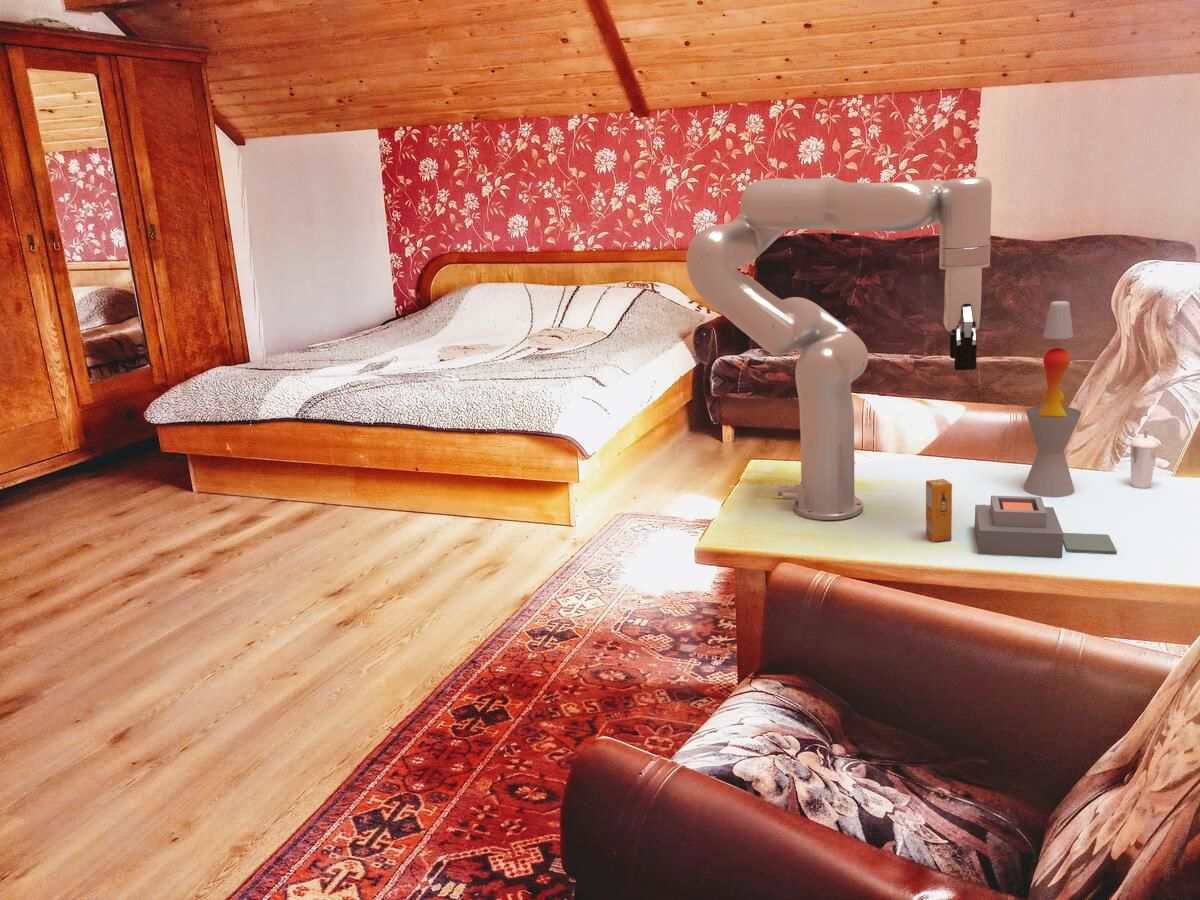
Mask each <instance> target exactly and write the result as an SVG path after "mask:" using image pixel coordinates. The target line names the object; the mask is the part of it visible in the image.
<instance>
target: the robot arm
mask: <svg viewBox="0 0 1200 900" xmlns="http://www.w3.org/2000/svg"><path fill="white" fill-rule="evenodd" d="M992 192H993V190H992V182H991V181H990V179H989V178H988V177H985V176H972V177H971V176H970V177H969V176H968V177H959V178H958V177H957V178H951V179H948V180H937V179H935V180H933V179H915V180H914V179H913V180H907V181H898V182H850V181H843V180H842V179H839V178H833V177H825V178H822V177H821V178H819V177H817V178H784V177H775V178H774V177H773V178H763V179H759V180H756V181H754V182H753V183H751V184H750V185H748V186H747V187H746V189H744V191H743V192H742V195H741V197H740V201H739V203H740V204H739V209H740V213H739V214H738V215H737V216H736V217H735V218H734V219H733V220H732V221H730V222H726V223H720V224H715V225H710V226H708V227H706V228H704V229H702V230H700V231H698V232H697V233H696V234H695V236H693V238H692V240H691V241H690V242H689V245H688V248H687V252H686V268H687V269H686V271H687V275H688V278H689V281H690V283H691V285H692V287H693V288H694V290H695V291H696V293H697V294H698V295H699V296H700V297H701V298H702V300H704V301H705V302H706V303H707V304H708V305H709V306H710V307H712V308H713V309H714V310H716V311H717V312H718V313H720V314H721V315H723V316H724V317H725V318H726V319H728V321H730V322H731V323H732V324H733V325H735V327H737V328H738V329H739V330H740V331H742V332H743V333H744V334H745V335H747V336H748V337H749V338H750V339H751V340H753V341H754V342H755V343H756V344H758V346H759V347H761V348H762V349H763V350H765V351H766V352H768V353H769V354H771V355H774V356H787V355H789V354H791V353H794V352H797V353H798V354H800V356H799V357H798V360H797V361H796V365H795V370H794V371H795V372H794V373H795V374H794V375H795V379H794V380H795V387H796V390H797V396H798V397H797V398H798V406H799V408H798V409H799V429H800V475H801V476H800V477H801V478H800V480H801V481H800V483H799V484H795V485H794V486H788V485H777V496H778V497H779V496H780V497H782V500H794V501H793V503H792V504H793V505H792V508H793V511H794V513H796V514H797V515H799V516H802V517H803V518H808V519H811V520H819V521H839V520H846V519H850V518H853V517H857V516H858V515H859V514H861V513H863V511H864V502H863V501H862V500H861V499H860V498H859V497H857V496H855V409H854V401H853V396H852V387H851V386H852V383H853V382H854V381H856V380H857V379H858V378H859V377H860V376H862V374H863V373H864V371H865V370H866V369H867V366H868V364H869V363H868V361H869V354H868V348H867V346H866V345H865V342H863V340H862V339H861V338H860V337H859V335H857V334H856V333H855V332H854V331H852V330H851V329H850V328H848V327H847V326H846V325H844V324H843V323H842V322H841V321H839V320H838V319H837V318H836V317H834V315H831V314H830V313H829V312H828V311H826V310H825V309H824V308H822V307H821V306H819V304H817V303H816V302H814V301H811V300H809V299H808V298H805V297H798V296H794V297H787V298H784V299H781V298H779V297H778V296H776V295H775V294H773V293H772V292H770V291H769V289H768V290H767V288H765V287H764V286H763V285H762V284H760V282H758V281H757V280H755V279H753V278H751V277H750V276H748V275H746V274H744V273H742V272H741V271H739V270H738V269H739V268H742V267H744V266H746V265H749V264H751V263H752V262H753V261H755V260H756V259H757V258H758V257H759V256H760V255H762V253H764V252H765V251H766V250H767V249H768V248H769V247H770V246H771V245H772V244H773V243H774V242H775V241H776V240H777V239H778V238H780V237H781V236H782V235H783V234H784V233H785V231H787V230H810V231H820V230H821V231H833V232H834V231H835V232H836V231H852V232H854V231H855V232H890V233H891V232H896V233H897V232H898V233H901V232H910V231H913V230H916V229H920V228H924V227H928V226H931V225H937V224H939V260H938V262H939V266H938V267H939V269H940V270H944V271H945V275H944V276H945V278H944V297H943V299H944V300H943V301H944V303H943V304H944V306H943V308H944V309H943V325H944V327H945V330H946V331H947V332H949V333H951V334H949V357H950V358H951V359H954V370H956V371H975V370H977V357H978V356H977V353H978V352H977V347H978V344H977V341H976V339H977V337H976V331H977V330H979V329H980V322H981V308H982V286H983V285H982V284H983V283H982V279H983V276H982V275H983V273H982V272H983V271H982V270H983V268H988V267H990V266H991V238H992V237H991V235H992V234H991V232H992V231H991V230H992V229H991V228H992V225H991V224H992V197H993V194H992Z"/></svg>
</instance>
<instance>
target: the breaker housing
mask: <svg viewBox="0 0 1200 900" xmlns="http://www.w3.org/2000/svg"><path fill="white" fill-rule="evenodd" d="M1002 502H1021V503H1032V506H1033V510H1034V511H1033V510H1004V509H1002ZM974 507H975V509H974V532H975V537H976V544H977V550H978V551H977V552H978V555H993V556H994V555H995V556H997V555H998V556H1014V557H1015V556H1019V557H1037V558H1038V557H1039V558H1053V559H1054V558H1058V559H1059V558H1060V559H1061V558H1063V547H1064V543H1063V535H1064V534H1063V533H1064V531H1063V529H1062V526H1061V523H1060V521H1059V517H1058V516H1057V514H1056V511H1055V508H1054V507H1052V506H1045V504H1044V502H1043V499H1042V496H1023V495H1022V496H1021V495H1020V496H1017V495H1016V496H1015V495H990V504H975V505H974Z"/></svg>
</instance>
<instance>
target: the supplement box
mask: <svg viewBox="0 0 1200 900" xmlns="http://www.w3.org/2000/svg"><path fill="white" fill-rule="evenodd" d="M952 494H953V484H952V483H951V482H950V481H948V480H947V479H945V478H938V479H931V480H926V481H925V529H926V531H925V535H926V537H927V538H928V539H929V540H930V541H931V542H933V543H934V542H935V543H936V542H943V541H944V542H945V541H946V542H947V541H948V542H949V541H952V529H953V528H952V524H953V523H952V522H953V521H952V516H953V513H952V511H953V509H952V507H953V503H952V502H953V495H952Z"/></svg>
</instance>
